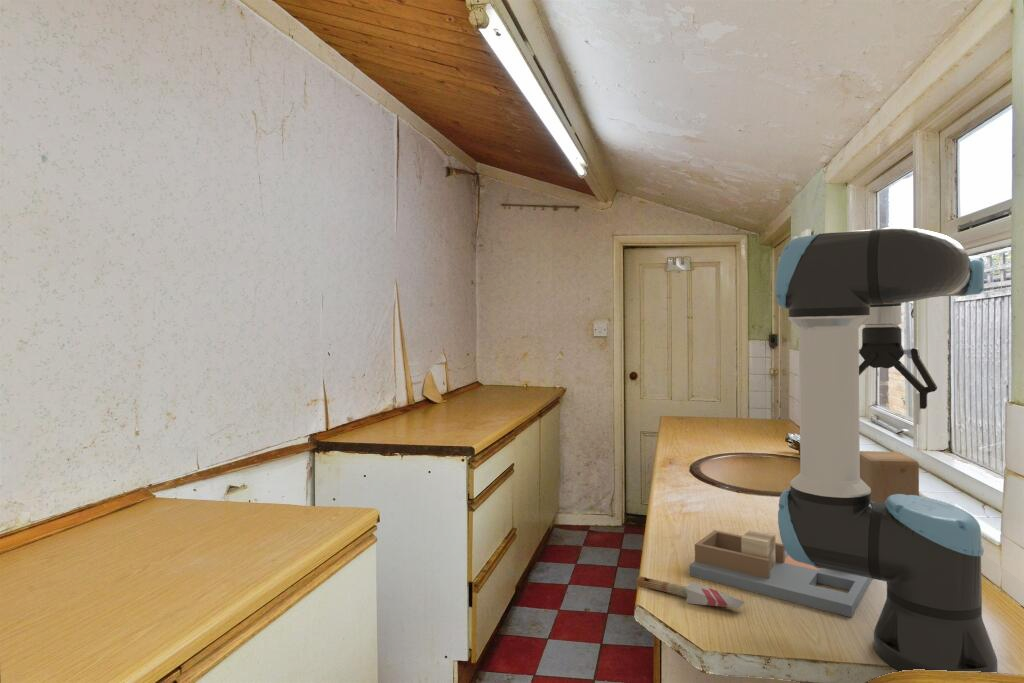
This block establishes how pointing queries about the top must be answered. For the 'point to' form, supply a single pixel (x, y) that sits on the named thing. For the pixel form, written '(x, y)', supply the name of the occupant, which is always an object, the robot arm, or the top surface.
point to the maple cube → (759, 545)
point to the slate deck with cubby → (776, 575)
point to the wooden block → (889, 474)
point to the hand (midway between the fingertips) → (881, 421)
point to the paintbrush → (692, 593)
